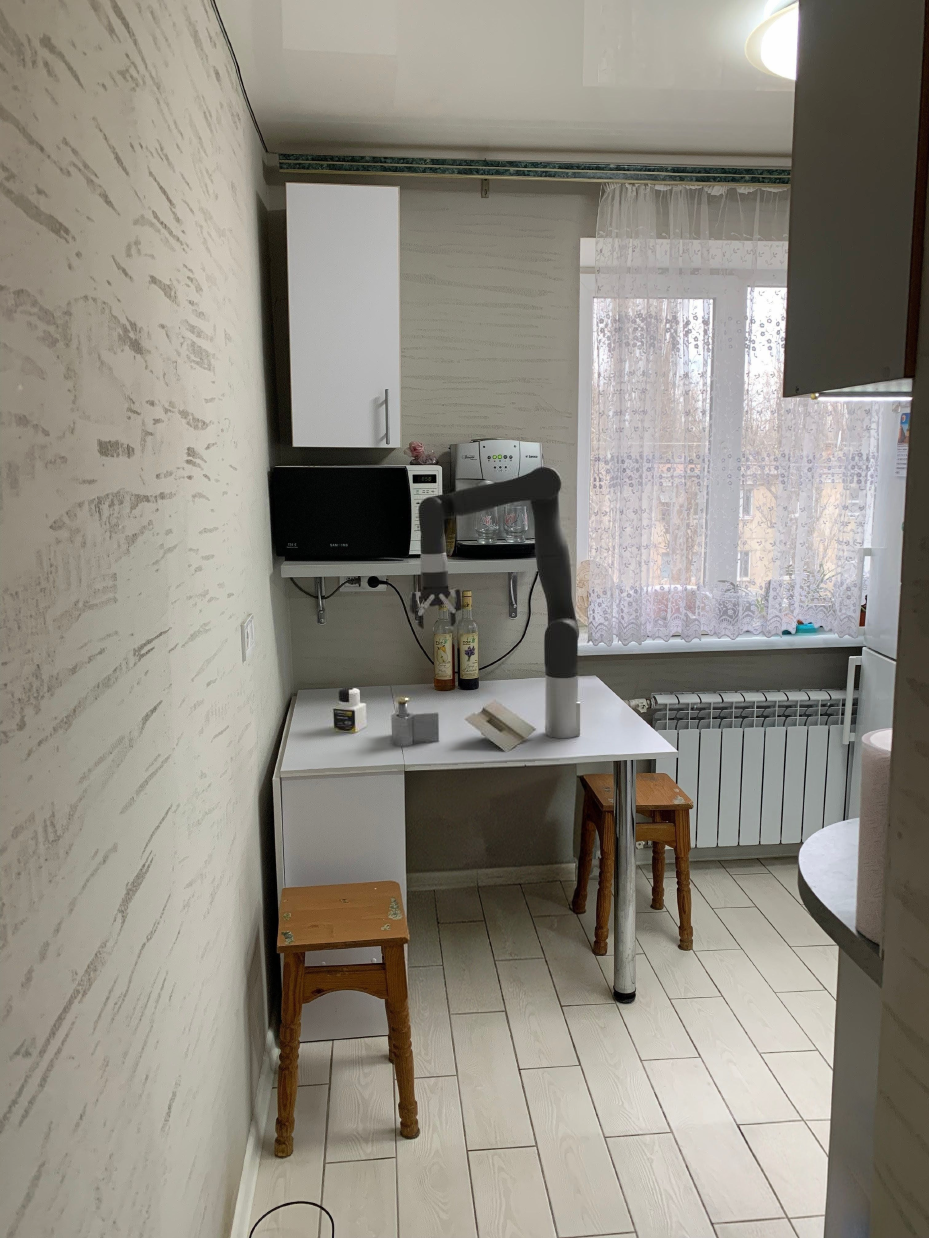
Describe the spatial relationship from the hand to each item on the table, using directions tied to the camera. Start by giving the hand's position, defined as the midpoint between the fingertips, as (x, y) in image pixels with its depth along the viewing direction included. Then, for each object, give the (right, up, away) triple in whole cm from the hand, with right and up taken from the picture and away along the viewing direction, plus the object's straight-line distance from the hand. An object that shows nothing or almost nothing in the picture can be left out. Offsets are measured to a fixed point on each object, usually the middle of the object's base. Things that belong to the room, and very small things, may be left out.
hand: (436, 627), depth 255 cm
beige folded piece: (+18, -32, -1) cm, 37 cm away
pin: (-9, -32, -3) cm, 33 cm away
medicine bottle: (-26, -30, +12) cm, 41 cm away
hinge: (-7, -31, +1) cm, 32 cm away
